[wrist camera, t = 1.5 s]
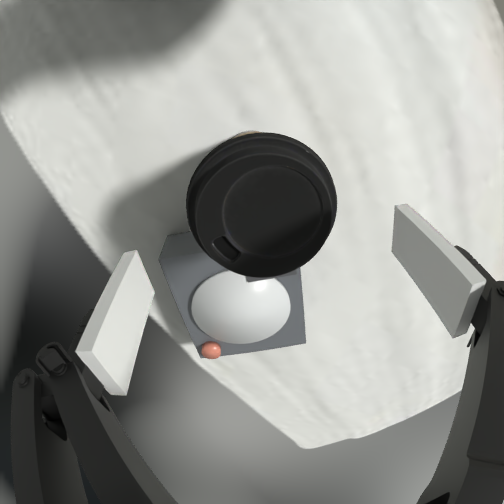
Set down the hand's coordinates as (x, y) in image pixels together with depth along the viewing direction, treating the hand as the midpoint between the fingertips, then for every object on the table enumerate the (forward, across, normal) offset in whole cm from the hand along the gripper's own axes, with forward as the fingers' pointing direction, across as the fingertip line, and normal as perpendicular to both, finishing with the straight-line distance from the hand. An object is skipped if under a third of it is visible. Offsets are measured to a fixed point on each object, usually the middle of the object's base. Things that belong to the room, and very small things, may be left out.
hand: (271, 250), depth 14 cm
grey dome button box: (+18, -4, -15) cm, 24 cm away
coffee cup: (+18, 0, 0) cm, 18 cm away
